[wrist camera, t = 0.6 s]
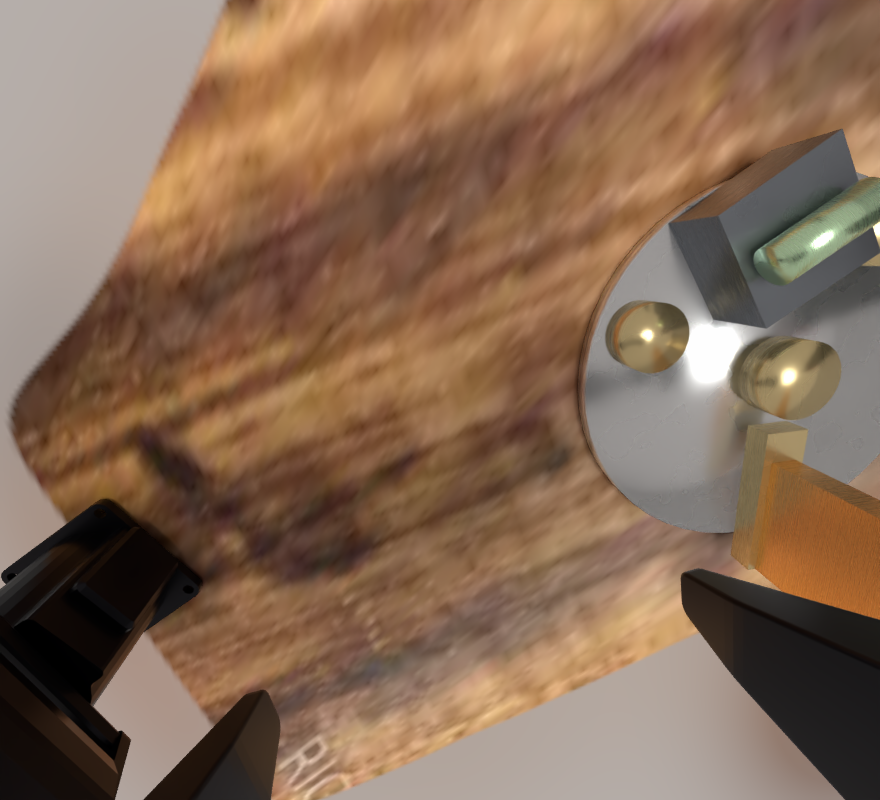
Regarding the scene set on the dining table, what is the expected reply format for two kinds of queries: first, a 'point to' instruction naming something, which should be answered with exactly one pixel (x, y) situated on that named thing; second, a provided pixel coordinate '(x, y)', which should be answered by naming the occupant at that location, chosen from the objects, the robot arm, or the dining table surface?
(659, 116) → the dining table surface
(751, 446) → the lever
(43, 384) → the dining table surface
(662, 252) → the levelling plate
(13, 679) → the robot arm
